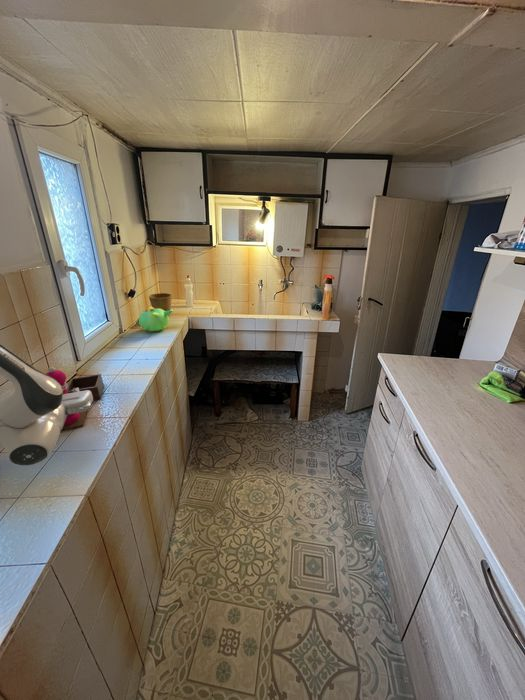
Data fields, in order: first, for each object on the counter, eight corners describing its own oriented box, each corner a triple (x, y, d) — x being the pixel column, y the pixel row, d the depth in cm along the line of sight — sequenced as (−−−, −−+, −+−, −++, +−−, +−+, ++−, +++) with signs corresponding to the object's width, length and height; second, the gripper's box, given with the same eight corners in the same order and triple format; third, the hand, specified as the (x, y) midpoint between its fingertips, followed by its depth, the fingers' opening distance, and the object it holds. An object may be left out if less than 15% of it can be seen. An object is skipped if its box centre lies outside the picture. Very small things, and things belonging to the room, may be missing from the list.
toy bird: (157, 324, 187) (153, 302, 181) (176, 327, 180) (173, 305, 174) (135, 332, 172) (130, 309, 166) (155, 337, 165) (151, 313, 159)
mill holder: (100, 399, 107) (97, 386, 105) (68, 405, 103) (64, 392, 101) (104, 385, 116) (100, 373, 114) (74, 390, 112) (70, 378, 110)
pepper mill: (63, 429, 91) (43, 375, 82) (51, 422, 94) (31, 369, 86) (86, 416, 96) (69, 365, 88) (74, 410, 100) (57, 360, 91)
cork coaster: (47, 433, 89) (46, 432, 89) (55, 415, 98) (55, 414, 98) (83, 426, 93) (82, 424, 92) (88, 409, 101) (87, 407, 101)
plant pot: (153, 322, 190) (149, 298, 184) (151, 315, 203) (148, 294, 196) (175, 319, 196) (172, 296, 189) (173, 313, 208) (170, 292, 202)
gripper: (86, 400, 82) (93, 378, 94) (-1, 416, 75) (19, 390, 87) (91, 417, 85) (98, 394, 96) (8, 434, 78) (26, 407, 90)
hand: (59, 392), depth 92 cm, fingers open, 8 cm apart
